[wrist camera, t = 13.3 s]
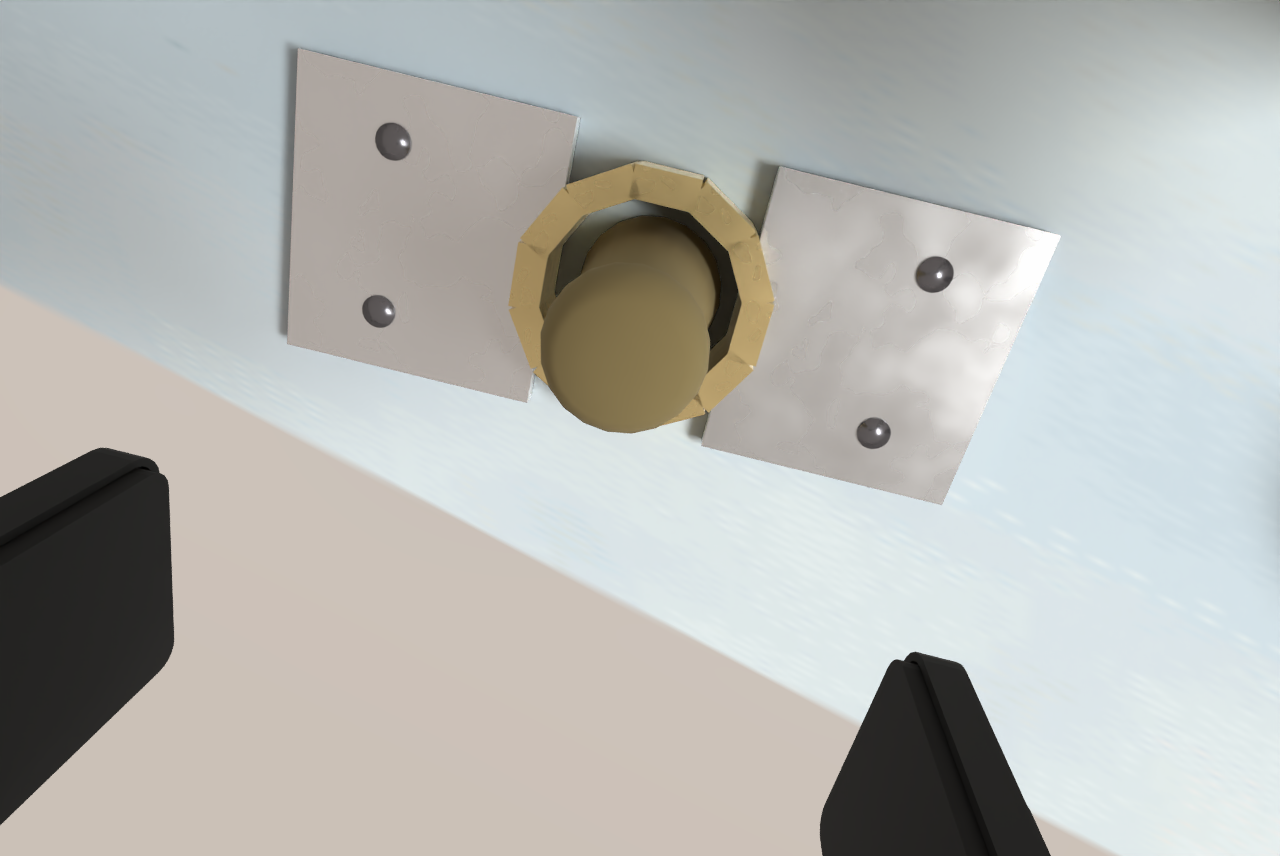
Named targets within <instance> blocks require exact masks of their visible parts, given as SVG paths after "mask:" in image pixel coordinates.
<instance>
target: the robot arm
mask: <svg viewBox="0 0 1280 856" xmlns="http://www.w3.org/2000/svg"><path fill="white" fill-rule="evenodd" d="M173 646H174V623H173V595H172V567H171V538H170V509H169V485H168V480H167V479H166V477H165V476H164V475H162V474H160V473H159V468H158V466H157V465H156V463H155V462H154V461H152V460H151V459H149V458H145V457H141V456H137V455H133V454H129V453H125V452H121V451H117V450H113V449H109V448H98V449H95V450H92V451H90V452H88V453H86V454H84V455H82V456H80V457H78V458H76V459H74V460H72V461H70V462H69V463H67V464H65V465H63V466H61V467H59V468H57V469H55V470H53V471H51V472H49V473H47V474H45V475H43V476H41V477H39V478H37V479H35V480H33V481H31V482H29V483H27V484H26V485H24V486H21V487H20V488H18V489H16V490H14V491H12V492H10V493H8V494H6V495H4V496H2V497H0V825H1V824H2V823H3V822H4V821H5V820H6V819H7V818H8V817H9V816H10V815H11V814H12V813H13V812H14V811H15V810H16V809H17V808H19V807H20V806H21V805H22V804H23V803H24V802H25V801H26V800H27V799H28V798H29V797H30V796H31V795H32V794H33V793H34V792H35V791H36V790H37V789H38V788H39V787H40V786H41V785H42V784H43V783H44V782H45V781H46V780H47V779H49V778H50V776H52V774H54V773H55V772H56V771H57V770H58V769H59V768H60V767H61V766H62V765H63V764H64V763H65V762H66V761H67V760H68V759H69V758H70V757H71V756H72V755H73V754H74V753H75V752H76V751H78V750H79V749H80V748H81V747H82V746H83V745H84V744H85V743H86V742H87V741H88V740H89V739H90V738H91V737H92V736H93V735H94V734H95V733H96V732H97V731H98V730H99V729H100V728H101V727H102V726H103V725H104V724H105V723H106V722H107V721H109V720H110V719H111V718H112V717H113V716H114V715H115V714H116V713H117V712H118V711H119V710H120V709H121V708H122V707H123V706H124V705H125V704H126V703H127V702H128V701H129V700H130V699H131V698H132V697H133V696H135V695H136V693H138V692H139V691H140V690H141V689H142V688H143V687H144V686H145V685H146V684H147V683H148V682H149V681H150V680H151V679H152V678H153V677H154V676H155V675H156V674H157V673H158V672H159V671H160V670H161V669H162V668H163V667H164V665H165V664H166V662H167V661H168V659H169V657H170V655H171V652H172V649H173ZM820 841H821V848H822V855H823V856H1051V855H1050V853H1049V851H1048V849H1047V847H1046V844H1045V842H1044V840H1043V838H1042V835H1041V834H1040V831H1039V829H1038V827H1037V825H1036V822H1035V820H1034V818H1033V816H1032V813H1031V811H1030V809H1029V808H1028V806H1027V805H1026V802H1025V800H1024V798H1023V796H1022V794H1021V791H1020V789H1019V787H1018V785H1017V783H1016V780H1015V778H1014V776H1013V774H1012V772H1011V769H1010V767H1009V765H1008V763H1007V760H1006V758H1005V756H1004V754H1003V752H1002V749H1001V747H1000V745H999V743H998V741H997V738H996V736H995V734H994V732H993V730H992V727H991V725H990V723H989V721H988V719H987V716H986V714H985V712H984V710H983V708H982V705H981V703H980V701H979V699H978V697H977V694H976V692H975V690H974V688H973V685H972V683H971V681H970V679H969V677H968V674H967V672H966V670H965V669H964V667H963V666H962V665H961V664H959V663H957V662H954V661H950V660H946V659H942V658H938V657H934V656H930V655H926V654H922V653H918V652H912V653H910V654H909V655H908V656H907V657H906V658H905V660H904V661H901V660H894V661H892V662H891V663H890V665H889V667H888V669H887V671H886V673H885V675H884V677H883V679H882V682H881V684H880V686H879V688H878V690H877V693H876V695H875V697H874V699H873V701H872V703H871V706H870V708H869V710H868V712H867V714H866V716H865V719H864V721H863V723H862V725H861V727H860V730H859V732H858V734H857V736H856V738H855V740H854V743H853V745H852V747H851V749H850V751H849V754H848V755H847V758H846V760H845V762H844V764H843V766H842V769H841V771H840V773H839V775H838V777H837V779H836V781H835V784H834V786H833V788H832V790H831V792H830V794H829V797H828V799H827V801H826V803H825V805H824V808H823V812H822V816H821V823H820Z"/></svg>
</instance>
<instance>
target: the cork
mask: <svg viewBox="0 0 1280 856" xmlns="http://www.w3.org/2000/svg"><path fill="white" fill-rule="evenodd" d="M720 293H721V279H720V274H719V270H718V266H717V262H716V259H715V258H714V256H713V254H712V253H711V251H710V249H709V248H708V246H707V244H706V243H705V241H704V240H703V239H702V238H700V237H699V236H698V235H697V234H696V233H695V232H693V231H692V230H691V229H690V228H689V227H687V226H686V225H684V224H681V223H679V222H676V221H674V220H671V219H669V218H666V217H656V216H639V217H635V218H632V219H628V220H625V221H621V222H619V223H617V224H616V225H614V226H613V227H611V228H610V229H608V230H607V231H606V232H604V233H603V234H601V235H600V237H599V238H598V239H597V241H596V242H595V243H594V244H593V246H592V247H591V248H590V250H589V251H588V252H587V255H586V258H585V261H584V264H583V267H582V270H581V273H580V276H579V277H577V278H576V279H574V280H573V281H571V282H570V283H568V284H567V285H566V286H565V287H564V288H563V290H562V291H561V292H560V294H559V295H558V296H557V298H556V299H555V300H554V302H553V303H552V304H551V305H550V307H549V308H548V311H547V314H546V317H545V320H544V324H543V327H542V330H541V365H542V368H543V371H544V374H545V377H546V380H547V383H548V386H549V388H550V389H551V391H552V392H553V393H554V395H555V396H556V398H557V399H558V400H559V402H560V403H561V404H562V406H563V407H564V408H565V409H566V410H568V411H569V412H570V413H572V414H573V415H574V416H576V417H577V418H578V419H579V420H581V421H582V422H583V423H586V424H589V425H591V426H594V427H596V428H599V429H602V430H604V431H607V432H620V433H636V432H640V431H645V430H649V429H654V428H657V427H659V426H660V425H662V424H664V423H666V422H667V421H669V420H671V419H673V418H674V417H676V416H678V415H679V414H680V413H681V412H682V411H683V410H684V408H685V407H686V406H687V405H688V404H689V403H690V402H691V401H692V400H693V398H694V397H695V396H696V395H697V394H698V392H699V390H700V387H701V385H702V383H703V381H704V378H705V376H706V374H707V371H708V364H709V352H710V337H709V333H708V329H709V327H710V326H711V324H712V321H713V319H714V317H715V314H716V312H717V310H718V307H719V305H720Z"/></svg>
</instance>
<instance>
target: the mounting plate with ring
mask: <svg viewBox="0 0 1280 856" xmlns="http://www.w3.org/2000/svg"><path fill="white" fill-rule="evenodd" d="M580 119H581V117H577V116H573V115H569V114H565V113H561V112H557V111H553V110H549V109H545V108H541V107H537V106H533V105H529V104H524V103H520V102H516V101H512V100H508V99H504V98H500V97H496V96H492V95H488V94H484V93H480V92H476V91H471V90H467V89H463V88H459V87H455V86H451V85H447V84H443V83H439V82H435V81H431V80H427V79H423V78H419V77H414V76H410V75H406V74H402V73H398V72H394V71H390V70H386V69H382V68H378V67H374V66H370V65H366V64H361V63H357V62H353V61H349V60H345V59H341V58H337V57H333V56H329V55H325V54H321V53H317V52H313V51H308V50H303V49H299V48H298V57H297V85H296V112H295V140H294V168H293V196H292V223H291V251H290V279H289V306H288V334H287V344H290V345H294V346H298V347H302V348H306V349H310V350H315V351H319V352H323V353H327V354H331V355H335V356H339V357H343V358H347V359H351V360H355V361H359V362H363V363H367V364H371V365H375V366H379V367H384V368H388V369H392V370H396V371H400V372H404V373H408V374H412V375H416V376H420V377H424V378H428V379H432V380H436V381H440V382H444V383H449V384H453V385H457V386H461V387H465V388H469V389H473V390H477V391H481V392H485V393H489V394H493V395H497V396H501V397H505V398H509V399H513V400H518V401H522V402H526V403H527V402H528V400H529V399H530V398H531V394H532V389H533V383H534V377H535V374H536V375H537V376H538V377H539V378H540V379H541V380H542V381H544V382H545V383H546V384H547V385H548V383H547V380H546V377H545V374H544V371H543V368H542V365H541V330H542V327H543V324H544V320H545V317H546V314H547V311H548V308H549V307H550V305H551V304H552V303H553V302H554V300H555V299H556V295H555V292H554V291H555V286H556V280H557V275H558V269H559V264H560V258H561V253H562V247H563V244H564V243H565V242H566V241H567V239H568V238H569V237H570V236H571V235H572V234H573V233H574V231H575V230H576V229H577V228H578V227H579V226H580V224H581V223H582V222H583V221H584V220H585V219H586V217H587V216H588V215H589V214H590V213H592V212H595V211H598V210H602V209H605V208H608V207H611V206H614V205H617V204H620V203H624V202H627V201H630V200H633V199H637V200H641V201H645V202H649V203H653V204H657V205H661V206H665V207H670V208H674V209H678V210H682V211H686V212H689V213H690V214H691V215H692V216H693V217H694V218H695V219H696V220H697V221H698V222H699V223H700V224H701V225H702V226H703V227H704V228H705V229H706V230H707V231H708V232H709V233H710V234H711V235H712V236H713V237H714V238H715V239H716V240H717V241H718V242H719V243H720V244H721V245H722V246H723V247H724V248H725V249H726V250H727V251H728V252H729V256H730V260H731V264H732V267H733V271H734V275H735V279H736V283H737V287H738V290H739V292H738V295H737V299H736V302H735V306H734V309H733V313H732V316H731V320H730V324H729V327H728V331H727V334H726V335H725V336H724V337H723V338H722V339H721V340H720V341H719V342H718V343H717V344H716V345H715V346H714V347H713V348H712V349H711V350H710V352H709V364H708V371H707V374H706V376H705V378H704V381H703V383H702V385H701V387H700V390H699V392H698V394H697V395H696V396H695V397H694V398H693V400H692V401H691V402H690V403H689V404H688V405H687V406H686V407H685V408H684V410H683V411H682V412H681V413H680V414H679V415H678V416H676V417H674V418H673V419H671V420H669V421H667V422H666V423H664V424H662V425H666V424H669V423H673V422H677V421H681V420H685V419H689V418H693V417H697V416H701V415H705V410H706V411H707V412H708V413H709V415H708V418H707V422H706V426H705V429H704V433H703V436H702V444H701V446H704V447H708V448H712V449H716V450H721V451H725V452H729V453H733V454H737V455H741V456H745V457H749V458H753V459H757V460H761V461H765V462H769V463H773V464H777V465H781V466H785V467H790V468H794V469H798V470H802V471H806V472H810V473H814V474H818V475H822V476H826V477H830V478H834V479H838V480H842V481H846V482H850V483H855V484H859V485H863V486H867V487H871V488H875V489H879V490H883V491H887V492H891V493H895V494H899V495H903V496H907V497H911V498H915V499H919V500H924V501H928V502H932V503H936V504H940V505H942V503H943V501H944V499H945V497H946V494H947V492H948V490H949V488H950V485H951V483H952V481H953V479H954V476H955V474H956V472H957V470H958V467H959V465H960V463H961V460H962V458H963V456H964V454H965V451H966V449H967V447H968V445H969V442H970V440H971V438H972V436H973V433H974V431H975V429H976V427H977V424H978V422H979V420H980V418H981V415H982V413H983V411H984V409H985V406H986V404H987V402H988V400H989V397H990V395H991V393H992V390H993V388H994V386H995V384H996V381H997V379H998V377H999V375H1000V372H1001V370H1002V368H1003V366H1004V363H1005V361H1006V359H1007V357H1008V354H1009V352H1010V350H1011V348H1012V345H1013V343H1014V341H1015V339H1016V336H1017V334H1018V332H1019V329H1020V327H1021V325H1022V323H1023V320H1024V318H1025V316H1026V314H1027V311H1028V309H1029V307H1030V305H1031V302H1032V300H1033V298H1034V296H1035V293H1036V291H1037V289H1038V287H1039V284H1040V282H1041V280H1042V278H1043V275H1044V273H1045V271H1046V269H1047V266H1048V264H1049V262H1050V259H1051V257H1052V255H1053V253H1054V250H1055V248H1056V246H1057V244H1058V241H1059V239H1060V237H1061V235H1057V234H1054V233H1050V232H1046V231H1042V230H1038V229H1034V228H1030V227H1026V226H1022V225H1018V224H1014V223H1010V222H1005V221H1001V220H997V219H993V218H989V217H985V216H981V215H977V214H973V213H969V212H965V211H961V210H957V209H952V208H948V207H944V206H940V205H936V204H932V203H928V202H924V201H920V200H916V199H912V198H908V197H904V196H900V195H895V194H891V193H887V192H883V191H879V190H875V189H871V188H867V187H863V186H859V185H855V184H851V183H847V182H842V181H838V180H834V179H830V178H826V177H822V176H818V175H814V174H810V173H806V172H802V171H798V170H794V169H789V168H785V167H781V166H779V168H778V171H777V175H776V178H775V182H774V186H773V189H772V193H771V196H770V200H769V203H768V207H767V210H766V214H765V217H764V221H763V224H762V228H761V231H760V235H758V233H757V231H756V228H755V226H754V225H753V223H752V221H751V220H750V219H749V218H748V217H747V216H746V215H745V214H744V213H743V212H742V211H741V210H740V209H739V208H738V207H737V206H736V205H735V204H734V203H733V202H732V201H731V200H730V199H729V198H728V197H727V196H726V195H725V194H724V193H723V192H722V191H721V190H720V189H719V188H718V187H717V186H716V185H715V184H714V183H713V182H712V181H711V180H710V179H709V178H707V180H706V181H705V182H704V183H703V179H704V175H700V174H696V173H692V172H688V171H684V170H680V169H676V168H672V167H668V166H664V165H660V164H655V163H651V162H647V161H641V162H639V161H636V162H633V163H630V164H627V165H624V166H621V167H618V168H615V169H612V170H609V171H606V172H603V173H600V174H597V175H594V176H591V177H588V178H585V179H582V180H579V181H576V182H573V183H570V184H569V181H570V175H571V169H572V164H573V158H574V153H575V147H576V141H577V136H578V130H579V124H580ZM702 183H703V184H702ZM536 367H537V368H536ZM662 425H660V426H662Z"/></svg>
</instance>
